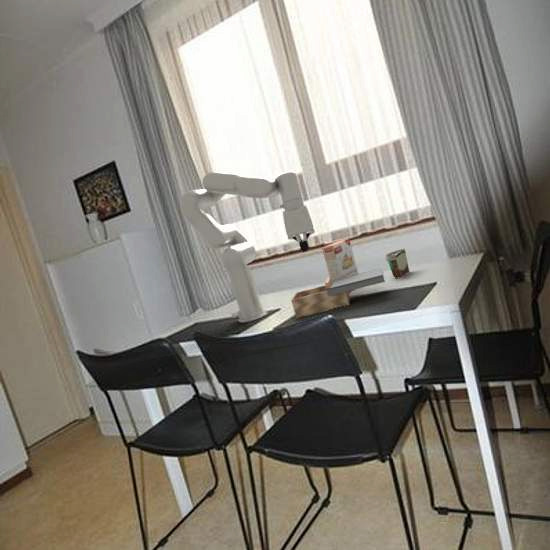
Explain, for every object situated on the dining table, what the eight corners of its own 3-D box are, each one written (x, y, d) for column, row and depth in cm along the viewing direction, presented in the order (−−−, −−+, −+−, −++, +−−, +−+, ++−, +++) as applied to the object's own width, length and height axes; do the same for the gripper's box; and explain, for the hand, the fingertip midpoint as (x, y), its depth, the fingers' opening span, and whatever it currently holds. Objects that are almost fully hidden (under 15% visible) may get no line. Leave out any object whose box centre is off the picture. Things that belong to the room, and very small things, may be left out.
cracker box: (347, 295, 186) (333, 245, 183) (334, 297, 190) (320, 248, 187) (362, 285, 196) (349, 237, 194) (350, 287, 200) (337, 240, 198)
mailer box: (296, 317, 173) (291, 300, 172) (301, 309, 185) (296, 292, 184) (349, 305, 168) (343, 286, 167) (350, 297, 181) (345, 280, 180)
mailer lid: (328, 296, 168) (324, 283, 168) (331, 287, 182) (328, 276, 182) (384, 281, 163) (381, 269, 163) (383, 274, 178) (380, 263, 177)
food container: (397, 273, 201) (391, 251, 199) (410, 271, 197) (404, 248, 196) (386, 281, 191) (380, 257, 190) (400, 278, 187) (394, 255, 186)
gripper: (272, 210, 175) (285, 257, 177) (311, 200, 171) (323, 248, 173) (277, 209, 182) (288, 254, 184) (313, 199, 178) (325, 245, 181)
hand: (305, 251), depth 179 cm, fingers closed
